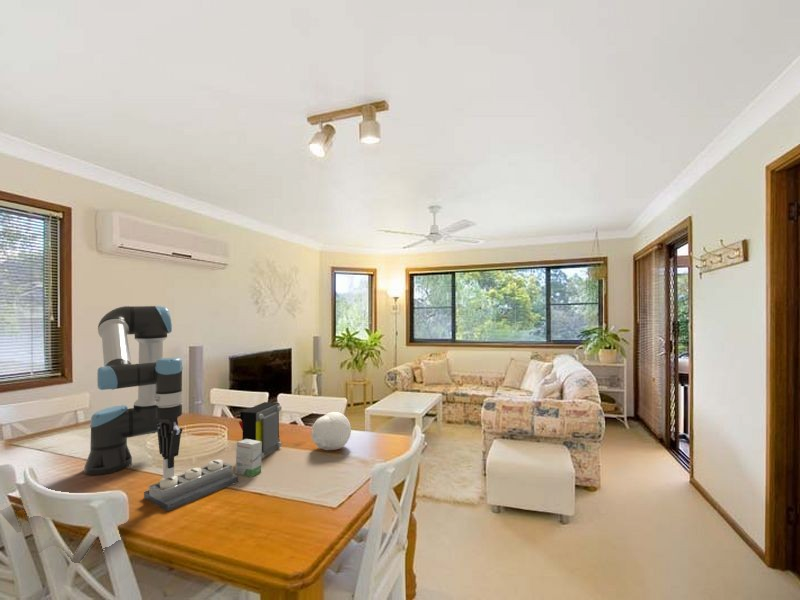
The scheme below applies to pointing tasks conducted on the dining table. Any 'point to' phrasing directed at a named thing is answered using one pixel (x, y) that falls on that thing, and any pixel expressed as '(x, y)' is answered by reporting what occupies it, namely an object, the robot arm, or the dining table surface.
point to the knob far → (215, 465)
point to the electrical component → (262, 425)
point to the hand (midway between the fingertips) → (168, 477)
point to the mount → (191, 488)
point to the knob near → (168, 482)
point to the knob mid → (192, 473)
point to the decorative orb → (331, 431)
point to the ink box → (248, 457)
